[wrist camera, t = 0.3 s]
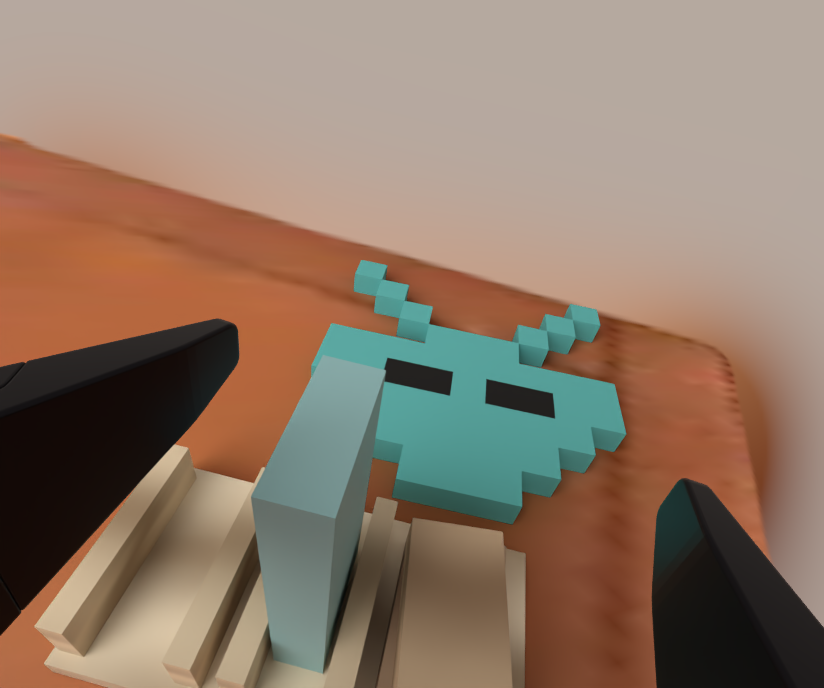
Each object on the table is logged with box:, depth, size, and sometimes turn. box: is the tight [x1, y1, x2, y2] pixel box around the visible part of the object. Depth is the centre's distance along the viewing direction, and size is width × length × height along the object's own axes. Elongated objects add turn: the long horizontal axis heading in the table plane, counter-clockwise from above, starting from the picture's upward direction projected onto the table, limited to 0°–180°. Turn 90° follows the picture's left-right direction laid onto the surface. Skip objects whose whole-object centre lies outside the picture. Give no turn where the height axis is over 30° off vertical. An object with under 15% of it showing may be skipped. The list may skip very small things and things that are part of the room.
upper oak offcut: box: [392, 518, 513, 688], centre depth 18 cm, size 6×4×2 cm, turn 175°
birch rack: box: [34, 445, 526, 688], centre depth 20 cm, size 9×18×4 cm, turn 79°
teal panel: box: [251, 355, 386, 674], centre depth 17 cm, size 5×2×12 cm, turn 169°
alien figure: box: [311, 260, 626, 524], centre depth 33 cm, size 20×2×20 cm
